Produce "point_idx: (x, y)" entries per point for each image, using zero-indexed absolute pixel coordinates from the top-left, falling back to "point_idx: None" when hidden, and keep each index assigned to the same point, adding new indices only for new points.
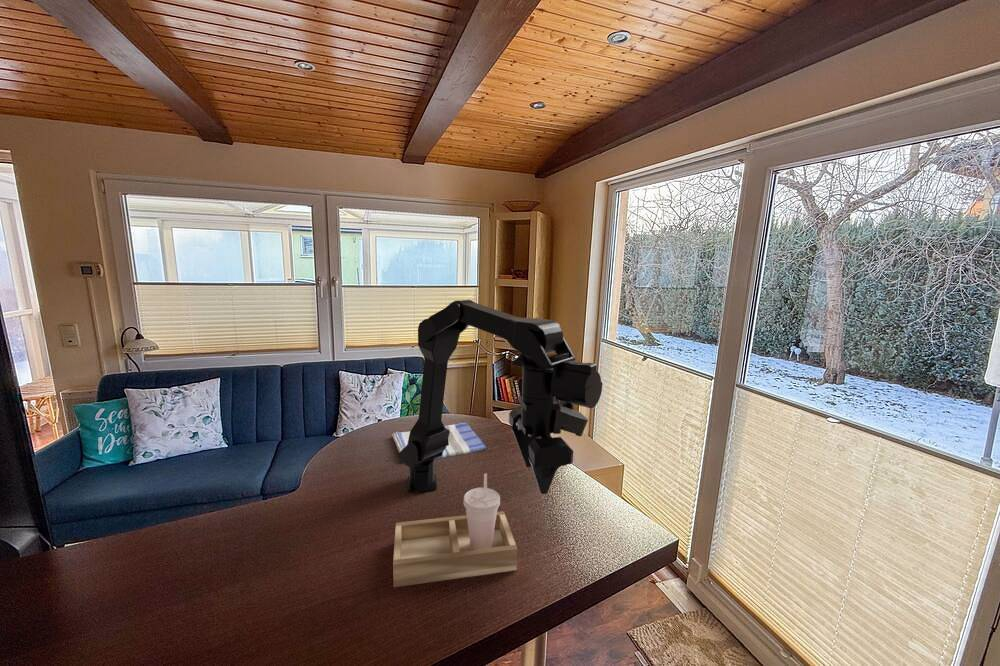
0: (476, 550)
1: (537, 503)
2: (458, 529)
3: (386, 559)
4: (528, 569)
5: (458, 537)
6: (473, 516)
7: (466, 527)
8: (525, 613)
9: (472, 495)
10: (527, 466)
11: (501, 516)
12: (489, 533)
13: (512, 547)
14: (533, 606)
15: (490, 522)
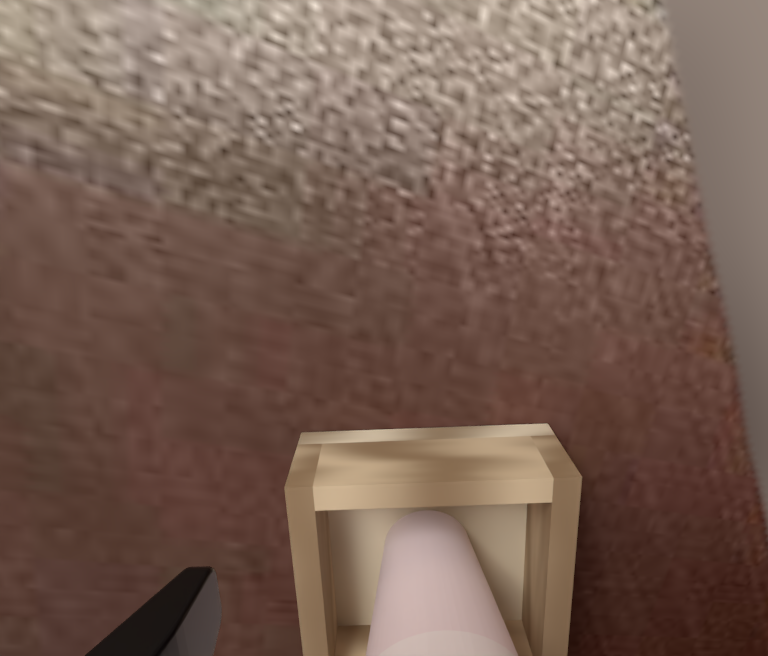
0: (548, 628)
1: (84, 220)
2: (334, 630)
3: None
4: (553, 378)
5: (357, 614)
6: None
7: (331, 607)
8: (743, 432)
9: None
10: (218, 614)
11: (329, 505)
12: (493, 597)
13: (568, 495)
14: (726, 401)
15: (516, 651)
